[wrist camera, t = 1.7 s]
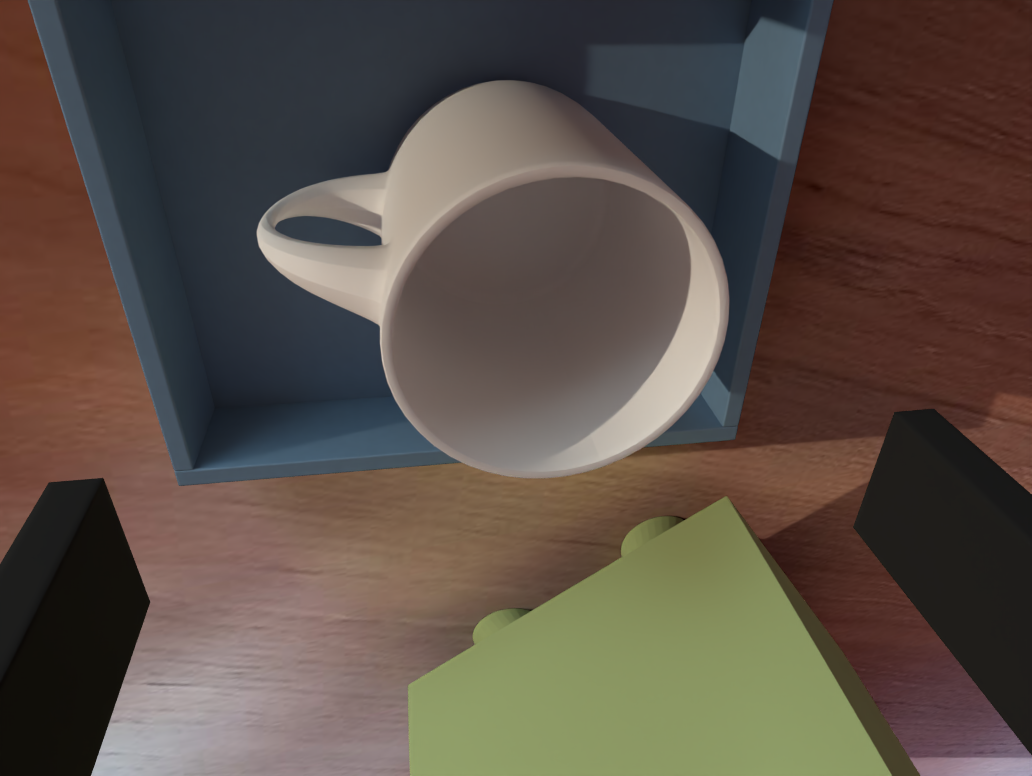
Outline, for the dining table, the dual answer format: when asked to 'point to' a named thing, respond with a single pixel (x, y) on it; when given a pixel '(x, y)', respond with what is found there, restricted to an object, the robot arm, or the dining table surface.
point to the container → (657, 674)
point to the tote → (369, 150)
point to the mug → (521, 282)
